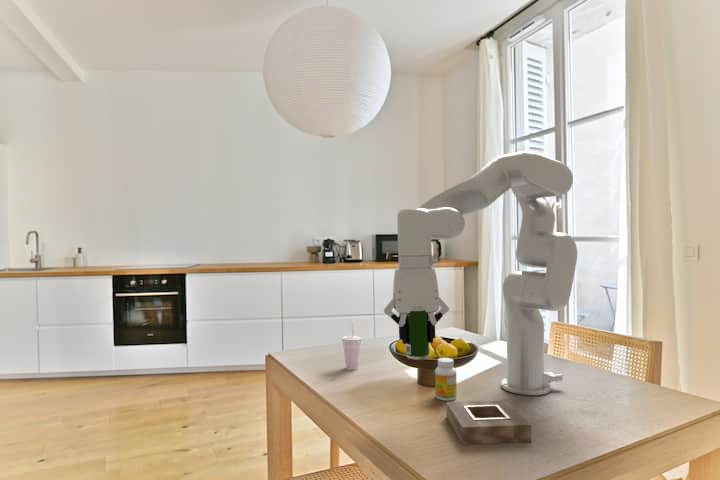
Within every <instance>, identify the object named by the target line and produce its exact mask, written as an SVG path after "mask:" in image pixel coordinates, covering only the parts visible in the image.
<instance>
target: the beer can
mask: <svg viewBox="0 0 720 480" xmlns="http://www.w3.org/2000/svg"><path fill="white" fill-rule="evenodd" d="M422 307H423V306H413V309H412V310H411V311H410V313H408V314H407V316H406V320H405V326H406V329H407V343H406V344H405V354H406V357H407V358H408V359H409V360H410V359H411V360H416V361H417V360H426V359H428V358H429V356H430V342H429V318H428V313H427V312H426V310H425V309H424V308H422Z"/></svg>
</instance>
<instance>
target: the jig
mask: <svg viewBox="0 0 720 480" xmlns="http://www.w3.org/2000/svg"><path fill="white" fill-rule="evenodd" d="M445 403H446V404H445V406H446V408H445V409H446V415H445V417H446V419H447V421H448V422H449V424H450V426H451V428H452V429H453V431H454V432H455V434H456V436H457V437H458V439H459V440H460V442H461V444H462V445H463V446H464V445H485V444H488V445H489V444H493V445H494V444H514V443H515V444H517V443H532V424H531V423H530V422H529V421H528V420H527V419H526V418H525V417H524V416H523V415H522V414H520V412H518V410H517V409H516V408H515V407H514V406H513V405H512V404H511V403H509V402H508V401H507V399H503V400H502V399H501V400H477V401H473V400H471V401H446V402H445ZM474 405H498V406H499V407H500V408H501V409H502V410H503V411H504V412H505V413H506V414H507V415H508V416H509V417H510V419H506V420H477V421H473V419H472V418H471V416H470V415H469V414H468V412H467V411H466V410H465V408H464V407H463V406H474ZM468 409H469V410H470V412H471V413H472V414H473V416H474V417H475V418H503V417H505V416H504V415H503V414H502V413H501V412H500V411H499V410H498V409H497V407H472V408H468Z"/></svg>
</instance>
